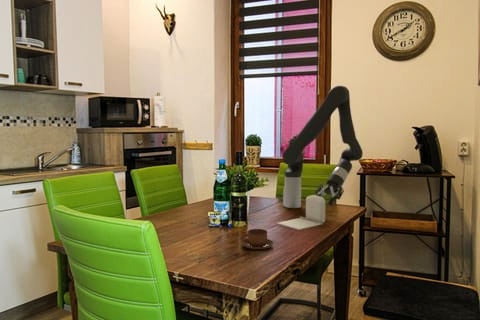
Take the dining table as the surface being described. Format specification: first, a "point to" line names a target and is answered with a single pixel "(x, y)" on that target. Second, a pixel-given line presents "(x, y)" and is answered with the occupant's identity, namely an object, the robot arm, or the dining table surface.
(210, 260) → the dining table surface
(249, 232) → the cup and saucer
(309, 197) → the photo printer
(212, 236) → the dining table surface
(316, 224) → the pad
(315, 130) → the robot arm
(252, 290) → the dining table surface
